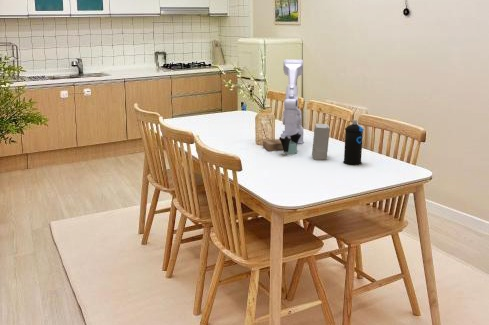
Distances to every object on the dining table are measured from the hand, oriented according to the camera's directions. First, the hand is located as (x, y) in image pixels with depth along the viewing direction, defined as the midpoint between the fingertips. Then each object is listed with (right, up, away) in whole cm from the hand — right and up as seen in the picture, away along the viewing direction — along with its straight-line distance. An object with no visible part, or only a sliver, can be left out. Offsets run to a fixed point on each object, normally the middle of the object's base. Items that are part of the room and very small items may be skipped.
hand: (290, 150), depth 258 cm
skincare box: (+14, -4, -8) cm, 16 cm away
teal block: (0, -1, 0) cm, 1 cm away
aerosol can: (+27, -6, -17) cm, 33 cm away
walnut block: (-7, +1, +9) cm, 11 cm away
